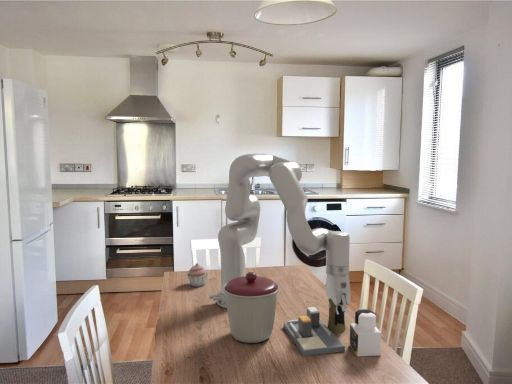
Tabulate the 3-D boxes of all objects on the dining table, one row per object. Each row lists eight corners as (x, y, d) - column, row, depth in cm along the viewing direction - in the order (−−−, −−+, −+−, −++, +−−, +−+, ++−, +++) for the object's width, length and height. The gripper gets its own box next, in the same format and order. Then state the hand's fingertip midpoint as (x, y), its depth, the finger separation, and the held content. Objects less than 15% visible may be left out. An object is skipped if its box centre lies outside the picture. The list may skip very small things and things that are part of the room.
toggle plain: (310, 327, 133) (310, 312, 132) (306, 322, 136) (306, 307, 136) (319, 326, 133) (319, 311, 133) (315, 321, 137) (315, 306, 137)
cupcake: (184, 283, 182) (184, 261, 181) (204, 280, 186) (204, 259, 185) (190, 289, 174) (189, 267, 173) (210, 286, 178) (210, 264, 177)
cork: (345, 333, 132) (346, 300, 131) (327, 331, 133) (327, 299, 132) (345, 325, 138) (346, 294, 137) (327, 323, 139) (328, 292, 138)
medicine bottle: (349, 345, 124) (350, 307, 123) (371, 344, 125) (373, 306, 123) (357, 357, 117) (358, 317, 116) (380, 355, 117) (382, 316, 116)
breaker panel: (303, 356, 118) (303, 348, 117) (283, 326, 137) (283, 320, 137) (344, 351, 120) (344, 343, 120) (319, 323, 140) (319, 316, 140)
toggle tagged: (302, 336, 126) (302, 321, 125) (298, 331, 129) (298, 316, 129) (311, 335, 126) (311, 320, 126) (307, 330, 130) (307, 315, 130)
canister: (216, 329, 135) (215, 267, 133) (266, 320, 142) (266, 262, 140) (234, 354, 119) (233, 284, 117) (289, 343, 125) (289, 277, 123)
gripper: (359, 275, 126) (358, 331, 128) (337, 261, 143) (336, 311, 145) (337, 277, 125) (336, 334, 127) (317, 262, 141) (316, 313, 143)
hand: (336, 321), depth 136 cm, fingers closed on cork, 3 cm apart
